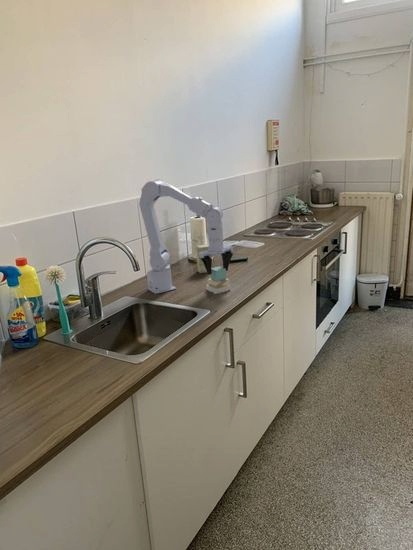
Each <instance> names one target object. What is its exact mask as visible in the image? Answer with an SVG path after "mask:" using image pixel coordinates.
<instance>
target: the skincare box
mask: <svg viewBox="0 0 413 550" xmlns="http://www.w3.org/2000/svg"><path fill="white" fill-rule="evenodd" d="M206 250H209V244H201V245H196V262H197V263H196V264H197V272H198V273H199V274H203V273H207V270H206V267H205V265H204V263H203V261H202V260H201V258H200V257H199V252H203V251H206ZM209 257H210V258H211V259H212V260H213V255H212V256H209ZM211 268H213V263H212V264H211Z"/></svg>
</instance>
